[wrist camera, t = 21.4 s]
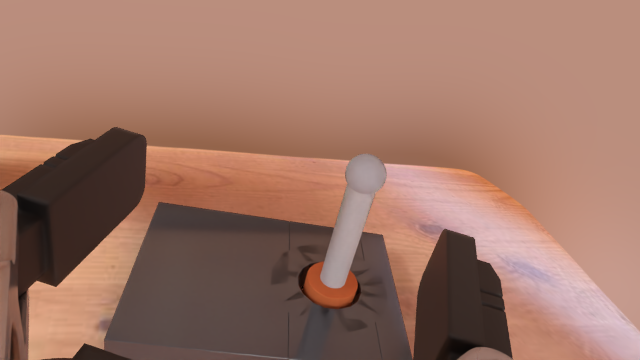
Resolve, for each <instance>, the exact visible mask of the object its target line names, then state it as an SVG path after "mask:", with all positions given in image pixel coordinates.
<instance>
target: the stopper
mask: <svg viewBox="0 0 640 360" xmlns="http://www.w3.org/2000/svg"><path fill="white" fill-rule="evenodd" d="M345 177H346V181H347V187H346V190H345V193H344V197H343V200H342V203H341V207H340V210H339V214H338V217H337V220H336V224H335V227H334V230H333V234H332V237H331V240H330V244H329V247H328V251H327V254H326V257H325V261H324V262H319V263H316V264H314V265H313V266H312V267H310V269H309V270H308V272H307V276H306V280H305V283H304V287H303V290H302V292H303V294H304V295H305V296H306V297H308V298H309V299H310V300H311V301H312V302H314V303H316V304H318V305H320V306H323V307H325V308H334V309H341V308H346V307H350V306H351V305H352V302H353V299H354V296H355V294H356V291H357V287H358V283H357V279H356V277H355V275H354V274H353V273H352V272H351V271H350V267H351V264H352V261H353V258H354V255H355V252H356V249H357V246H358V243H359V240H360V238H361V235H362V232H363V229H364V226H365V223H366V220H367V217H368V214H369V211H370V208H371V205H372V202H373V199H374V196H375V193H376V192H377V191H378V190H380V189H381V188H382V186H383V185H384V183H385V180H386V168H385V166H384V164H383V162H382V161H381V160H380V159H379V158H378V157H376V156H374V155H371V154H361V155H358V156H356V157H354V158H353V159H352V160H351V161H350V162H349V163H348V165H347V168H346V172H345Z"/></svg>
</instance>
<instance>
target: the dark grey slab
mask: <svg viewBox="0 0 640 360" xmlns="http://www.w3.org/2000/svg"><path fill="white" fill-rule="evenodd" d="M333 230H334V228H332V227H326V226H319V225H312V224H305V223H298V222H292V221H290V222H289V221H285V220H278V219H271V218H264V217H257V216H251V215H244V214H237V213H230V212H223V211H217V210H210V209H203V208H196V207H189V206H183V205H176V204H169V203H162V202H159V203H158V205H157V208H156V210H155V213H154V215H153V218H152V220H151V223H150V225H149V228H148V230H147V233H146V236H145V238H144V241H143V243H142V246H141V248H140V251H139V253H138V256H137V258H136V261H135V263H134V266H133V268H132V271H131V273H130V276H129V278H128V281H127V283H126V286H125V288H124V291H123V294H122V296H121V299H120V301H119V304H118V306H117V309H116V311H115V314H114V316H113V319H112V321H111V324H110V326H109V329H108V331H107V334H106V336H105V339H104V350H105V351H108V352H111V353H114V354H117V355H120V356H123V357H126V358H129V359H132V360H413V359H412V355H411V351H410V347H409V342H408V338H407V334H406V330H405V326H404V322H403V317H402V313H401V309H400V305H399V301H398V297H397V293H396V288H395V284H394V280H393V276H392V272H391V268H390V264H389V259H388V255H387V251H386V247H385V243H384V239H383V235H380V234H373V233H367V232H362V235H361V238H360V240H359V243H358V246H357V249H356V252H355V255H354V258H353V261H352V264H351V267H350V271H351V272H352V273H353V274H354V275H355V277H356V279H357V283H358V287H357V291H356V294H355V296H354V299H353V302H352V303H353V305H352V306H350V307H346V308H341V309H334V308H325V307H323V306H320V305H318V304H316V303H314V302H312V301H311V300H310V299H309V298H308V297H306V296H305V295H304V294H303V292H302V291H301V289H300V287H301V286H302V285H304V283H305V280H306V276H307V272H308V270H309V269H310V267H312V266H313V265H314V264H316V263H319V262H324V261H325V257H326V254H327V251H328V247H329V244H330V240H331V237H332V234H333Z"/></svg>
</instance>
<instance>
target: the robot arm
mask: <svg viewBox="0 0 640 360" xmlns="http://www.w3.org/2000/svg"><path fill="white" fill-rule="evenodd" d="M146 147H147V143H146V138H145V137H144V136H143V135H140V134H137V133H134V132H131V131H128V130H124V129H121V128H118V127H114V128H112V129H110V130H109V131H107V132H106V133H105V134H103V135H102V136H100V137H99V138H97V139H96V140H93V139H88V140H85V141H82V142H78V143H75V144H72V145H70V146H68V147H66V148H65V149H63V150H62V151H60V152H59V153H57V154H56V156H55V157H54V156H53V157H51V158H50V159H48V160H47V161H45V162H44V164H43V165H42V164H41V165H39V166H37V167H36V168H34V169H33V170H31V171H30V172H28V173H27V174H25V175H24V176H22V177H21V178H19V179H18V180H16V181H15V182H13V183H12V184H10V185H8V186H7V187H5V188H4V189H2V190H0V360H28V336H29V292H28V288H29V287H30V286H31V285H32V284H33V283H34V282H35V281H40V282H43V283H46V284H49V285H52V286H55V287H57V286H58V285H59V284H60V283H61V282H62V281H63V280H64V279H65V278H66V277H67V276H68V275H69V274H70V273H71V272H72V271H73V270H74V269H75V268H76V267H77V266H78V265H79V264H80V263H81V262H82V261H83V260H84V259H85V258H86V257H87V256H88V255H89V254H90V253H91V252H92V251H93V250H94V249H95V248H96V247H97V246H98V245H99V244H100V243H101V241H102V240H103V239H104V238H105V237H106V236H107V235H108V234H109V233H110V232H111V231H112V230H113V229H114V228H115V227H116V226H117V225H118V224H119V223H120V222H121V221H122V220H123V219H124V218H125V217H126V216H127V215H128V214H129V213H130V212H131V211H132V210H133V209H134V208H135V207H136V206H137V205H138V204H139V202H140V200H141V198H142V195H143V192H144V188H145V172H146ZM502 296H503V294H502V288H501V282H500V279H499V277H498V276H497V274H496V272H495V271H494V269H493V268H492V266H491V265H490V263H487V262H483V261H480V260H477V255H476V245H475V239H474V238H473V237H470V236H467V235H463V234H460V233H457V232H454V231H450V230H447V229H444V230H443V232H442V233H441V235H440V237H439V240H438V242H437V244H436V246H435V249H434V251H433V253H432V255H431V258H430V260H429V262H428V264H427V267H426V269H425V271H424V273H423V276H422V279H421V282H420V286H419V290H418V295H417V309H416V326H415V343H414V359H413V360H513V358H512V352H511V345H510V339H509V332H508V326H507V320H506V313H505V312H504V310H505V307H504V301H503V299H502ZM43 360H132V359H129V358H126V357H123V356H120V355H117V354H114V353H111V352H108V351H105V350H102V349H99V348H97V347H94V346H91V345H88V344H85V343H84V345H83V346H82V347H81V348H80V350H79V351H78V352H77V353H76V355H75V356H74V357H73V358H52V359H43Z"/></svg>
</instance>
